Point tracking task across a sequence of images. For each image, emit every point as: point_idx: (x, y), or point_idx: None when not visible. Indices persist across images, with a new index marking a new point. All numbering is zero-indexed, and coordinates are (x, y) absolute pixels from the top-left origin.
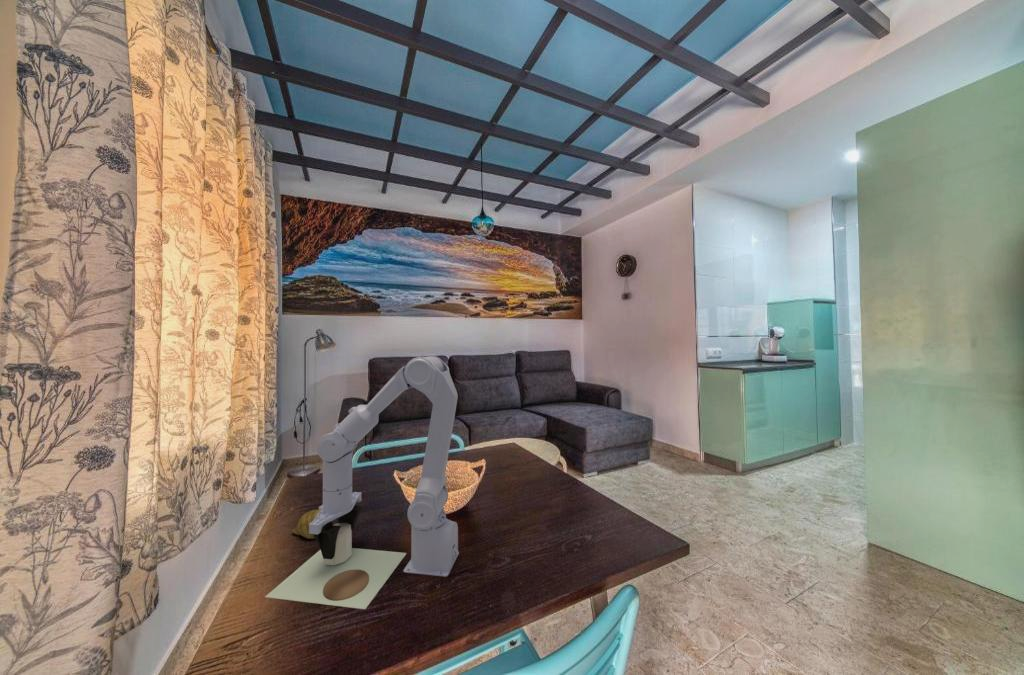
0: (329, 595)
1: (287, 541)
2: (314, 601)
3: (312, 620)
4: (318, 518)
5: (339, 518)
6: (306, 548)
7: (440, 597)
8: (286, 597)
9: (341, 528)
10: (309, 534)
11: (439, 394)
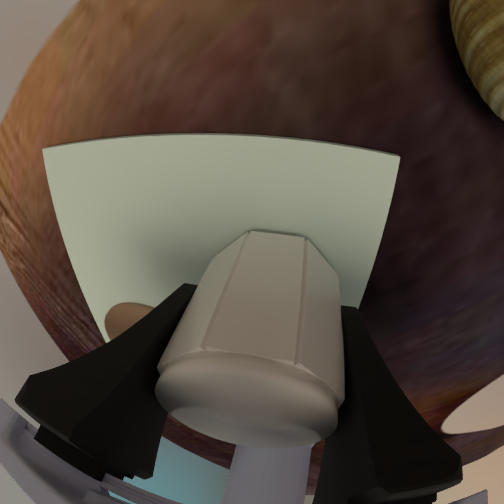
0: (109, 328)
1: None
2: (88, 299)
3: (71, 308)
4: (28, 480)
5: (356, 438)
6: (381, 43)
7: (197, 434)
8: (62, 219)
9: (254, 430)
10: (457, 30)
11: None
